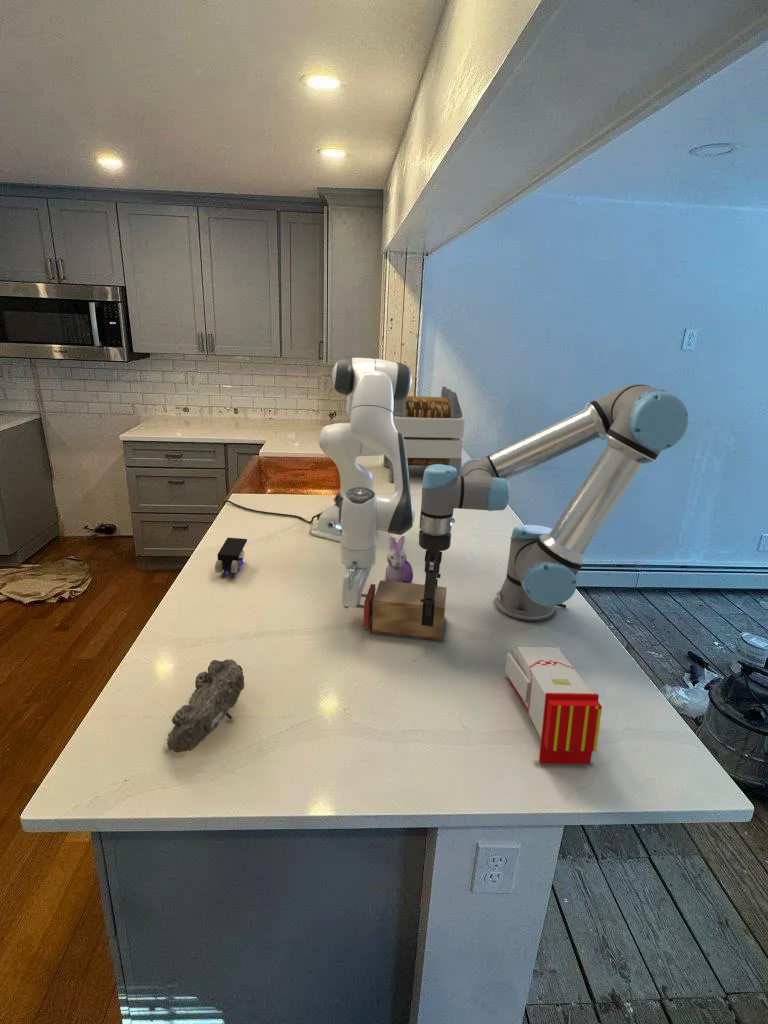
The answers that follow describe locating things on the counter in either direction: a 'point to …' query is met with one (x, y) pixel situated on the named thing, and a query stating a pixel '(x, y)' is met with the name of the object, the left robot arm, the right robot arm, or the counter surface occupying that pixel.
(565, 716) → the toy
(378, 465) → the counter surface
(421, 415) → the transformer
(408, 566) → the figurine
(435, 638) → the cabinet
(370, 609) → the drawer
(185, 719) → the fossil
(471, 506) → the right robot arm
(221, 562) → the figurine character
